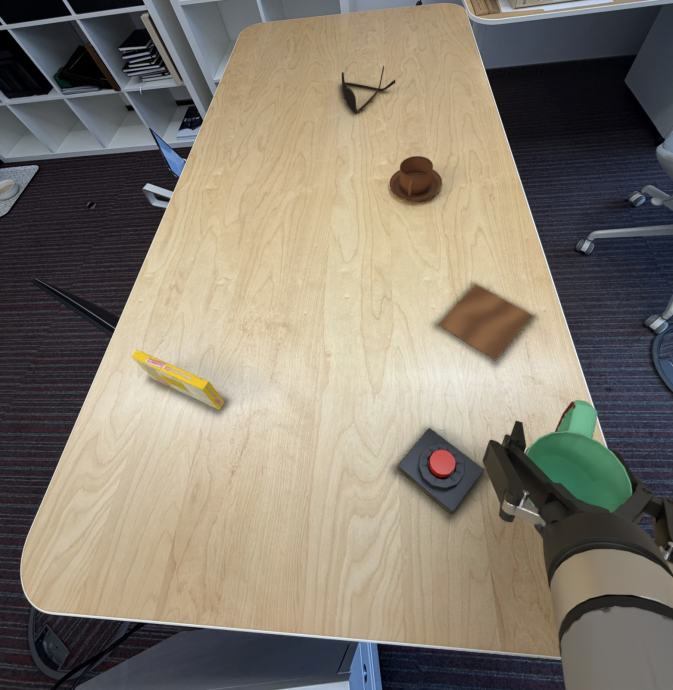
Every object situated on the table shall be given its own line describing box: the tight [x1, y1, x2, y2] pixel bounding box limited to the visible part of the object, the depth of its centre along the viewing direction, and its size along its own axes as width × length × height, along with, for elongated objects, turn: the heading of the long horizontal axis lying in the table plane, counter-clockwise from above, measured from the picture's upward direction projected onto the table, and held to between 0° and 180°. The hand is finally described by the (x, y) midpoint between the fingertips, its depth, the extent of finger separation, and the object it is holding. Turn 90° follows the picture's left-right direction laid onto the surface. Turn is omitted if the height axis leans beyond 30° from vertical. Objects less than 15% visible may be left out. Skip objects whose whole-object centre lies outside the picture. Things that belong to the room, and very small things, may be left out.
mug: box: [524, 399, 632, 513], centre depth 45 cm, size 15×10×10 cm
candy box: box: [130, 349, 225, 411], centre depth 73 cm, size 16×2×8 cm, turn 64°
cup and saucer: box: [389, 155, 443, 203], centre depth 95 cm, size 12×12×6 cm
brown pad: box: [438, 284, 533, 361], centre depth 76 cm, size 12×12×1 cm
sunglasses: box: [341, 65, 396, 114], centre depth 119 cm, size 17×14×5 cm
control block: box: [397, 427, 485, 515], centre depth 62 cm, size 10×8×4 cm
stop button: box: [429, 450, 456, 477], centre depth 60 cm, size 4×4×2 cm
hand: (561, 446), depth 47 cm, fingers closed on mug, 9 cm apart
